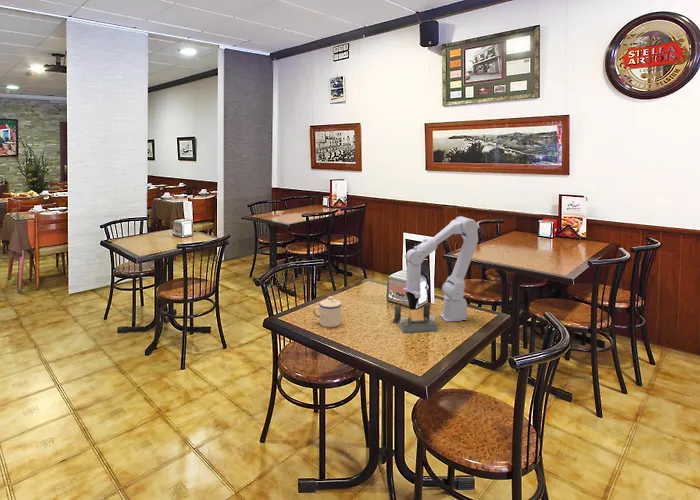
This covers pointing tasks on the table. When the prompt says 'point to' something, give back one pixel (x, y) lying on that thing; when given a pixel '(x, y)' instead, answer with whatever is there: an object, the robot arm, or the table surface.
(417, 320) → the tan flat block
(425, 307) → the post
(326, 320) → the teacup with lid
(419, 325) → the panel
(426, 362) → the table surface
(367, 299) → the table surface
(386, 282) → the table surface
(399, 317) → the cord post
